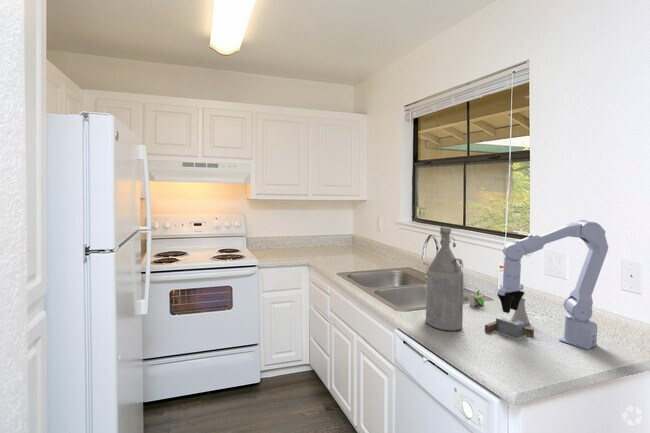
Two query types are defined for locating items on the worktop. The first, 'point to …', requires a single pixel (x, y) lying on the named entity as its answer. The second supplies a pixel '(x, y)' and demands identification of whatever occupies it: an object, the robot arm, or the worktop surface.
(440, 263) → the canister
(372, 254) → the worktop surface
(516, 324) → the bracket
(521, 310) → the flask
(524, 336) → the pad
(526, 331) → the grey and brown piece
